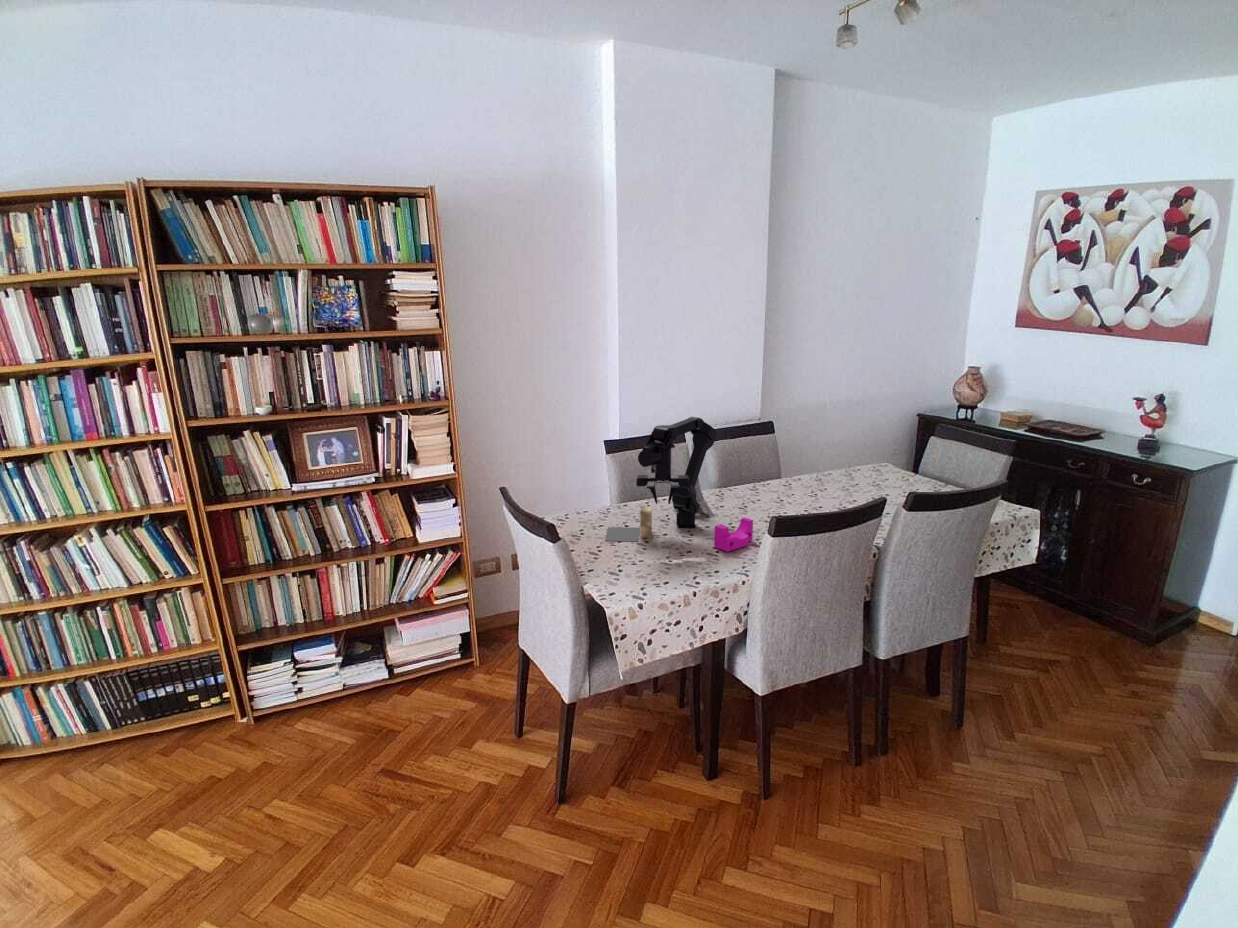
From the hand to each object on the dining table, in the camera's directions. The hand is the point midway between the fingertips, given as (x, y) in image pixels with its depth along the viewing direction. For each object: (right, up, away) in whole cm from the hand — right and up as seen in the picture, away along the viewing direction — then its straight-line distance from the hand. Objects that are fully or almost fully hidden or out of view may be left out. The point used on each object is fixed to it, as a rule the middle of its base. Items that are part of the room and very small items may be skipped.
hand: (662, 503), depth 229 cm
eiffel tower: (+14, -6, +26) cm, 30 cm away
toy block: (+25, -14, -6) cm, 30 cm away
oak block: (-6, -12, +3) cm, 14 cm away
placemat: (-14, -12, +4) cm, 19 cm away
